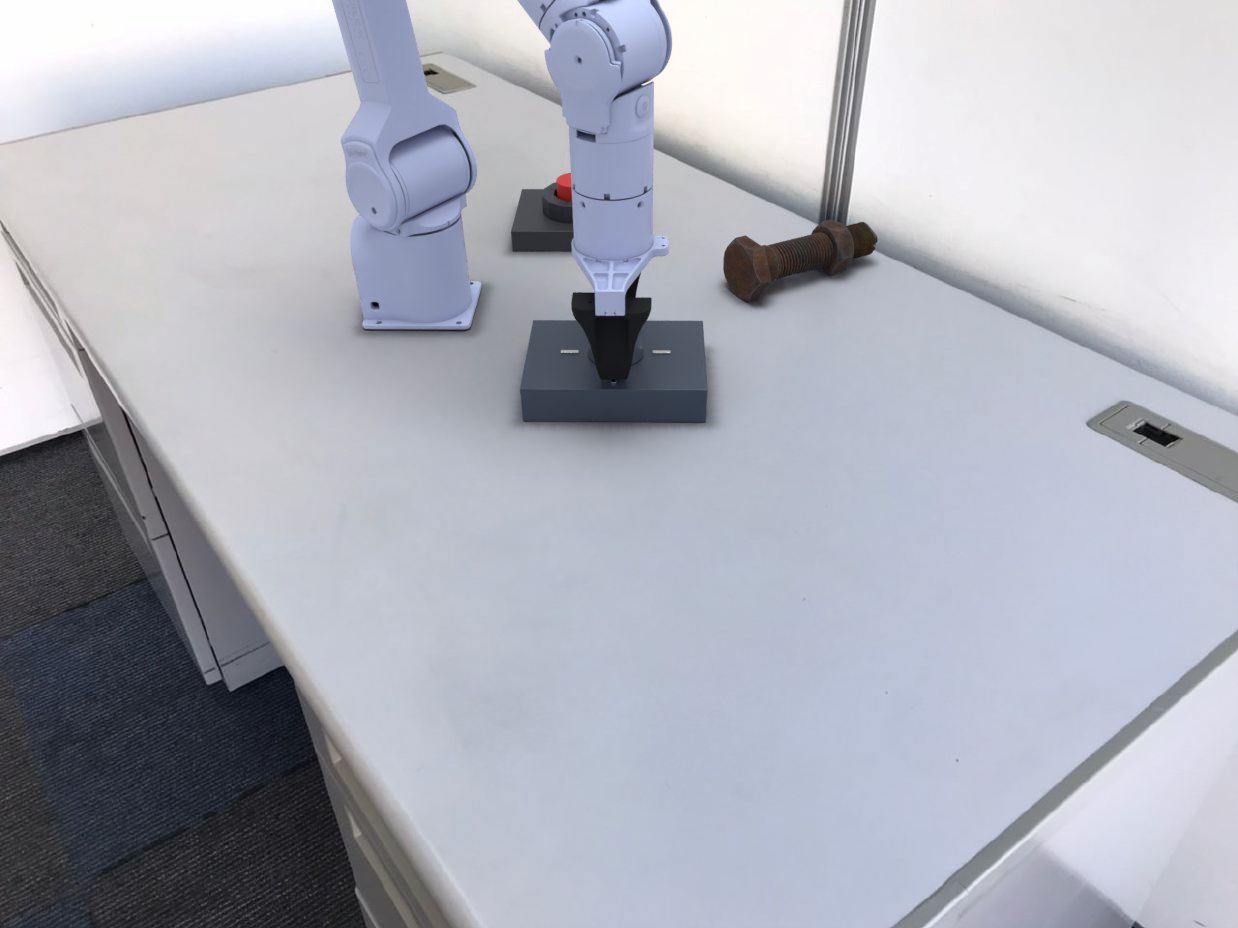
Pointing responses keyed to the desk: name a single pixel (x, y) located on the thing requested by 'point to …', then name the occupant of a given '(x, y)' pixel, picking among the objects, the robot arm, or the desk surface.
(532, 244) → the button base
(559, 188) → the button
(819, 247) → the bolt
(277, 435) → the desk surface
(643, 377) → the valve panel
